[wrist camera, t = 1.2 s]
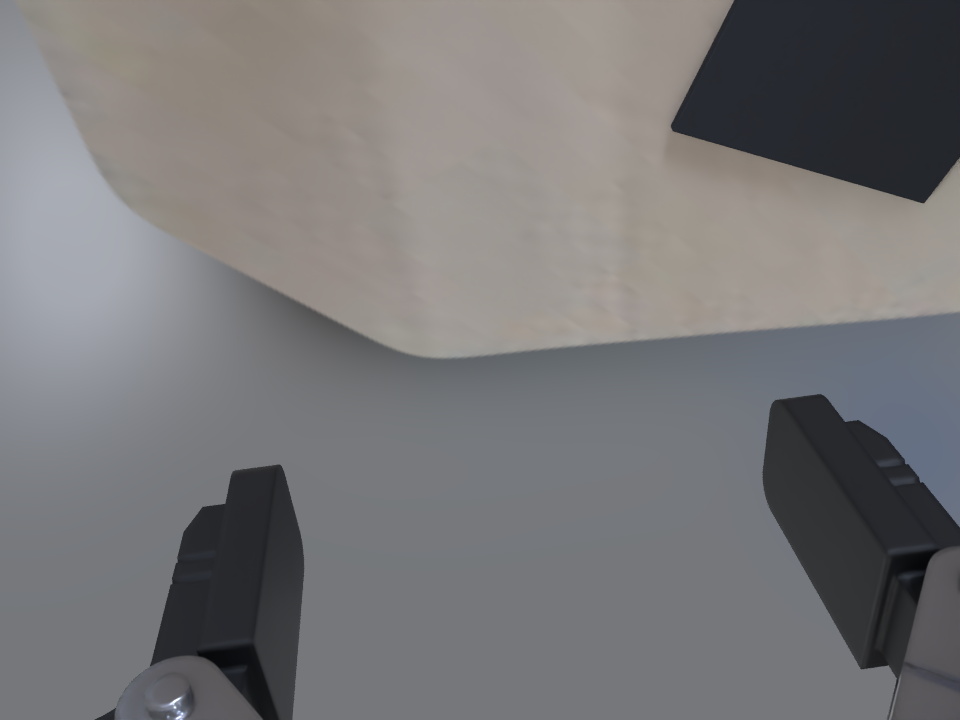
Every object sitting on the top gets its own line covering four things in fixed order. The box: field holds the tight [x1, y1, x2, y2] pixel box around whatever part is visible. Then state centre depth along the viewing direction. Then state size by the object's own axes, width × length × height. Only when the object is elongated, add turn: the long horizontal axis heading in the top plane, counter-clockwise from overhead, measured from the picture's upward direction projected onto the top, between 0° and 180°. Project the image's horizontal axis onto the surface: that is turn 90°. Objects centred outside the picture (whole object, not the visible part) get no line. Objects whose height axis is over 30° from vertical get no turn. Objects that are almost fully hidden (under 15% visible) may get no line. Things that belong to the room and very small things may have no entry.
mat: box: [671, 0, 960, 203], centre depth 36 cm, size 13×13×1 cm
